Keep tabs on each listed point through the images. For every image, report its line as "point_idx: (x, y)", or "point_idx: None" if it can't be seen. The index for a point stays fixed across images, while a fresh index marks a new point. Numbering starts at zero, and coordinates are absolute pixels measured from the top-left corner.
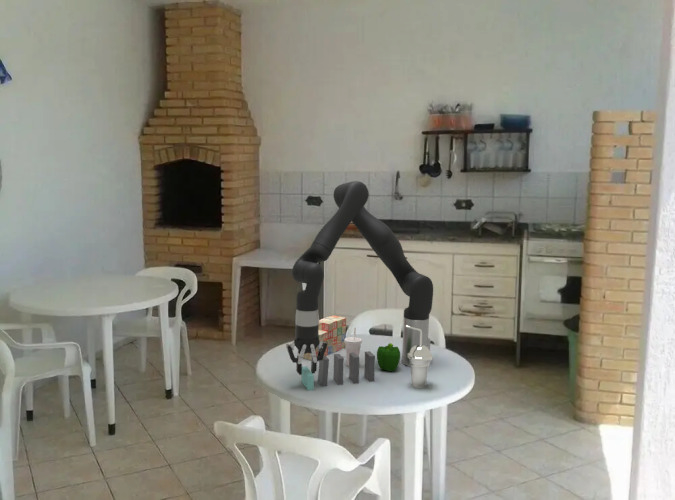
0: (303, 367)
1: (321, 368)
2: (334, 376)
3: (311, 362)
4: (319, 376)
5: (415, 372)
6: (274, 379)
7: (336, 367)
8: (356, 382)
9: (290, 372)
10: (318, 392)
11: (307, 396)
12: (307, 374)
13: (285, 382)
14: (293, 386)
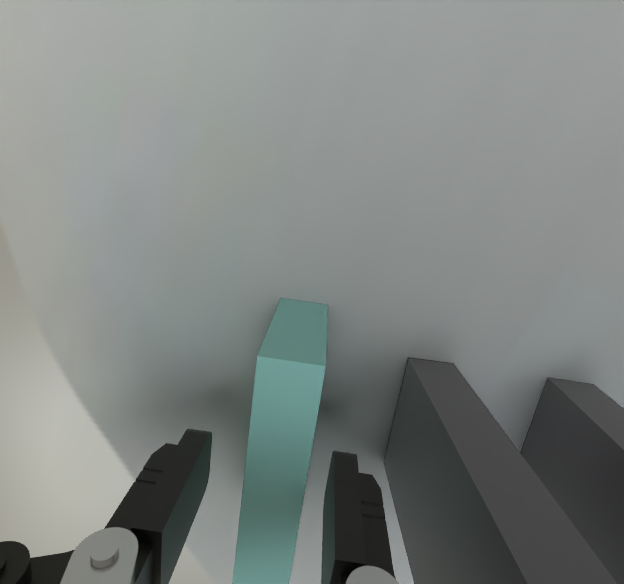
0: (270, 384)
1: (431, 548)
2: (560, 425)
3: (333, 549)
4: (413, 427)
5: None
6: (56, 171)
7: (613, 570)
8: None
9: (259, 21)
10: (311, 537)
11: (218, 561)
12: (235, 571)
13: (138, 281)
14: (179, 384)
